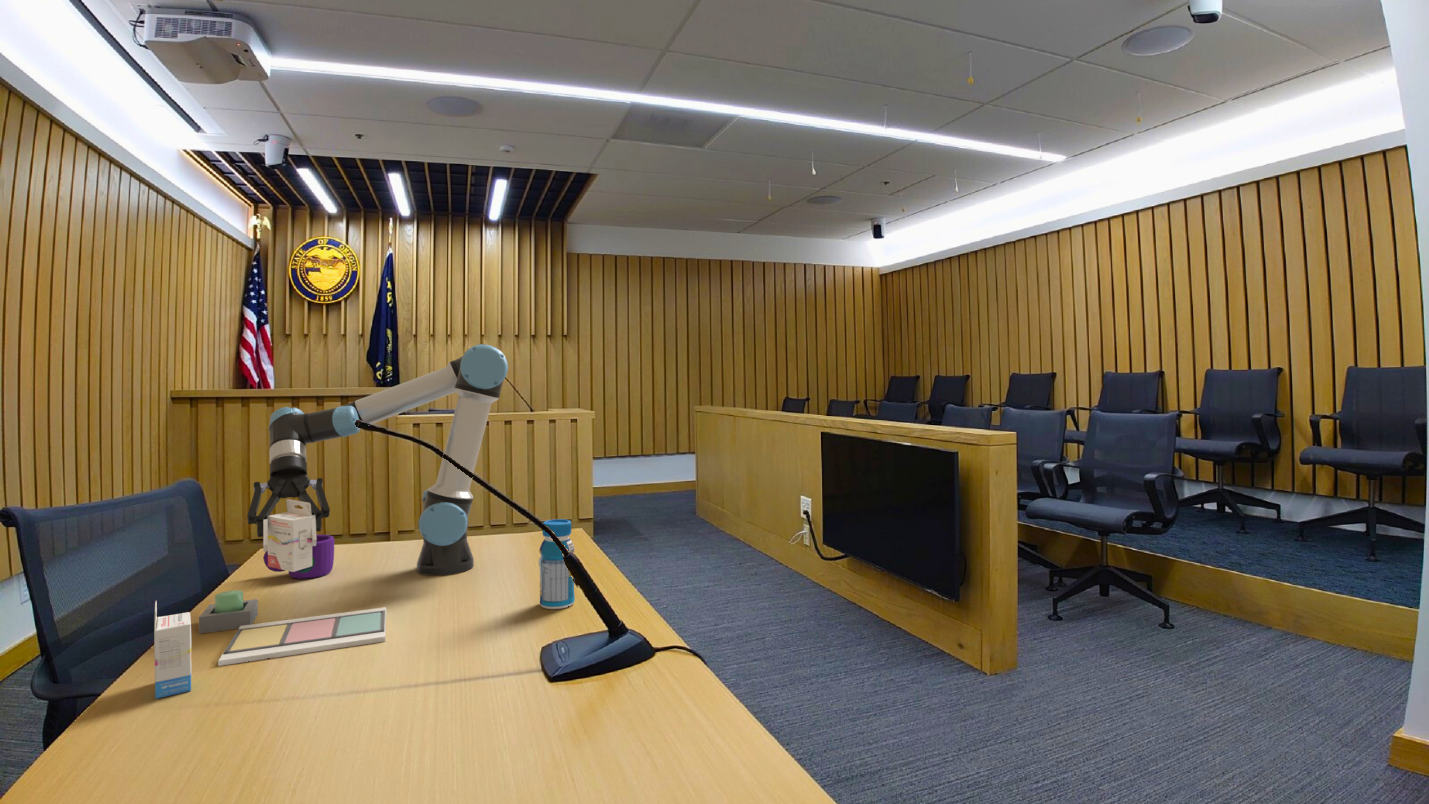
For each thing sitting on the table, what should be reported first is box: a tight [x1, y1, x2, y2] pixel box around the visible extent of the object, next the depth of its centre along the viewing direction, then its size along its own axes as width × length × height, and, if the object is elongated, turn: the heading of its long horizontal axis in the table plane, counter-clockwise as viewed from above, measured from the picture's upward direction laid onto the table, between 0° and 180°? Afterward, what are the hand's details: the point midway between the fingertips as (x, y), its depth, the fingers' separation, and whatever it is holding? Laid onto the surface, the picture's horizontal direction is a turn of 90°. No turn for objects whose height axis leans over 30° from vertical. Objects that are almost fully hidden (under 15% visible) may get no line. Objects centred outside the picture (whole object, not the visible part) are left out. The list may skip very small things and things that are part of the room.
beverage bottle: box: [538, 518, 576, 610], centre depth 160 cm, size 8×8×20 cm
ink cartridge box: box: [267, 498, 312, 572], centre depth 150 cm, size 9×5×15 cm, turn 69°
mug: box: [262, 534, 335, 580], centre depth 184 cm, size 17×11×10 cm, turn 103°
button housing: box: [198, 598, 259, 635], centre depth 147 cm, size 9×9×4 cm
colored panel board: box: [217, 606, 387, 667], centre depth 140 cm, size 28×20×1 cm
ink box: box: [153, 600, 192, 699], centre depth 116 cm, size 8×5×15 cm, turn 39°
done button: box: [214, 590, 244, 613], centre depth 147 cm, size 5×5×5 cm
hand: (290, 545), depth 147 cm, fingers closed on ink cartridge box, 8 cm apart
